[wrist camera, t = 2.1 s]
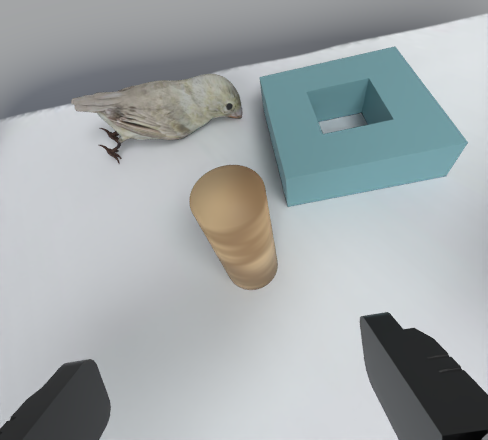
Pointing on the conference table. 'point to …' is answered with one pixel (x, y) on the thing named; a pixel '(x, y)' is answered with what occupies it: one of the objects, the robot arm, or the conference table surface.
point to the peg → (237, 223)
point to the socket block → (359, 138)
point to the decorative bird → (162, 108)
